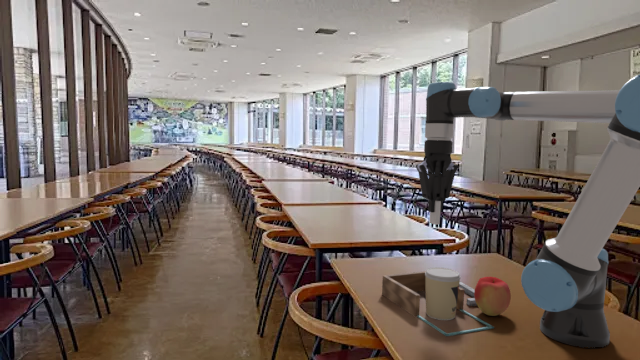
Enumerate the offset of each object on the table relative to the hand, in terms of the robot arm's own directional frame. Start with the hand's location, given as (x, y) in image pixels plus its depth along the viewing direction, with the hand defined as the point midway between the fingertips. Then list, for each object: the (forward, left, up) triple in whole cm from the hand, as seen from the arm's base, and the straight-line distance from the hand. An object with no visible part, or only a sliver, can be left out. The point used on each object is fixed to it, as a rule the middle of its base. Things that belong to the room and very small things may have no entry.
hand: (434, 223), depth 125 cm
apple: (-10, -13, -25) cm, 30 cm away
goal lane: (-11, 0, -24) cm, 27 cm away
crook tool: (+5, -16, -25) cm, 30 cm away
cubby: (+4, 0, -24) cm, 25 cm away
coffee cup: (-6, +1, -25) cm, 25 cm away
